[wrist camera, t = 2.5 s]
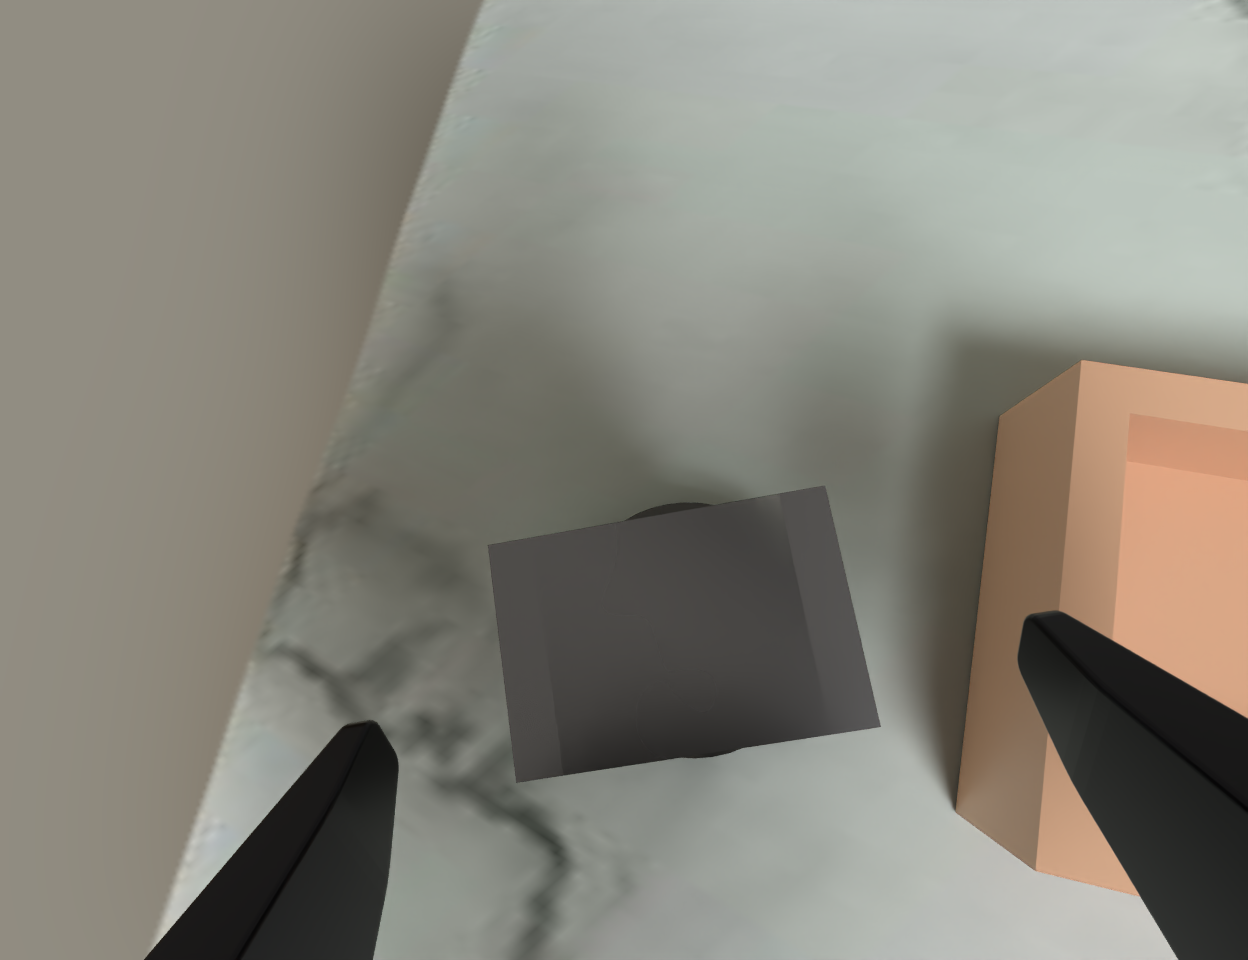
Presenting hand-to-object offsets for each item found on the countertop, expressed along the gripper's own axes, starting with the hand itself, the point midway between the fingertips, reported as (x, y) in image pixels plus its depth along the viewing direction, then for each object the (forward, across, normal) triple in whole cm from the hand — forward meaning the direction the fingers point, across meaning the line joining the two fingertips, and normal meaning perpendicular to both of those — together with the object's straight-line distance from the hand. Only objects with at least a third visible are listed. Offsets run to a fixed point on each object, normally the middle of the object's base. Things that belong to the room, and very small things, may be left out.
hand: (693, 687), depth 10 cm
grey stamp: (+7, 0, +6) cm, 9 cm away
